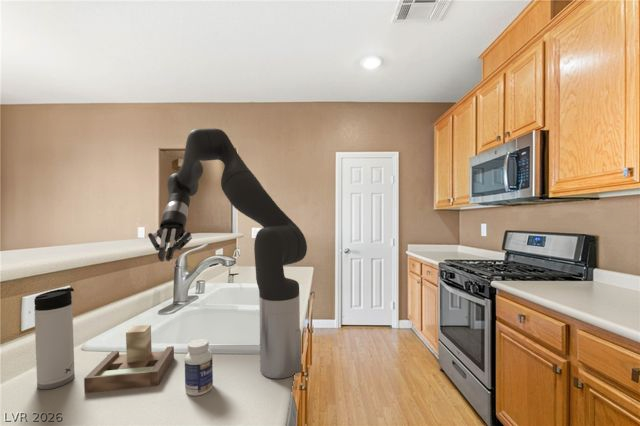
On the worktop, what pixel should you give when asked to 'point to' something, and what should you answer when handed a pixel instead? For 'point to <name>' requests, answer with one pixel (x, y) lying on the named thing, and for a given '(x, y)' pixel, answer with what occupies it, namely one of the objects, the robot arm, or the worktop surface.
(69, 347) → the travel mug
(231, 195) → the robot arm
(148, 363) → the box
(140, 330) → the birch block
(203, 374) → the pill bottle
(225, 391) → the worktop surface
